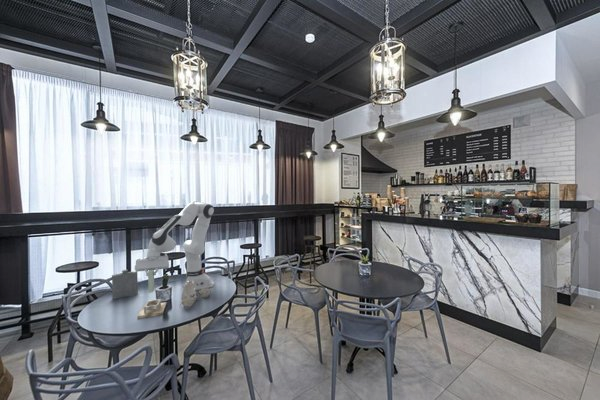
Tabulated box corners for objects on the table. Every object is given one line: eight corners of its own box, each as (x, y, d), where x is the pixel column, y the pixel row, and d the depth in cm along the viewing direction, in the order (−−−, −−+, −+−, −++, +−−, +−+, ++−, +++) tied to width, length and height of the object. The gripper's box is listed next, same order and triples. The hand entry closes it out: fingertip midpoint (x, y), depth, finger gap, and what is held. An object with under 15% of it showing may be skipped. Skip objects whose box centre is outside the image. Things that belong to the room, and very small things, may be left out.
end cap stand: (166, 304, 173) (166, 296, 173) (162, 314, 158) (162, 306, 158) (143, 307, 168) (143, 299, 168) (137, 318, 153) (137, 310, 153)
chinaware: (189, 314, 162) (191, 289, 161) (168, 309, 165) (170, 285, 165) (213, 296, 189) (215, 275, 188) (194, 292, 193) (196, 272, 192)
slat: (154, 289, 166) (153, 269, 165) (152, 292, 161) (152, 271, 161) (150, 289, 165) (149, 269, 164) (148, 292, 160) (148, 271, 160)
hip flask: (112, 299, 182) (111, 272, 181) (113, 297, 185) (112, 271, 185) (137, 294, 190) (137, 269, 190) (138, 292, 194) (137, 267, 193)
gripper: (135, 256, 165) (131, 275, 156) (169, 253, 172) (167, 271, 163) (137, 261, 169) (133, 279, 161) (170, 258, 177) (168, 275, 168)
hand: (150, 275), depth 162 cm, fingers closed on slat, 2 cm apart
